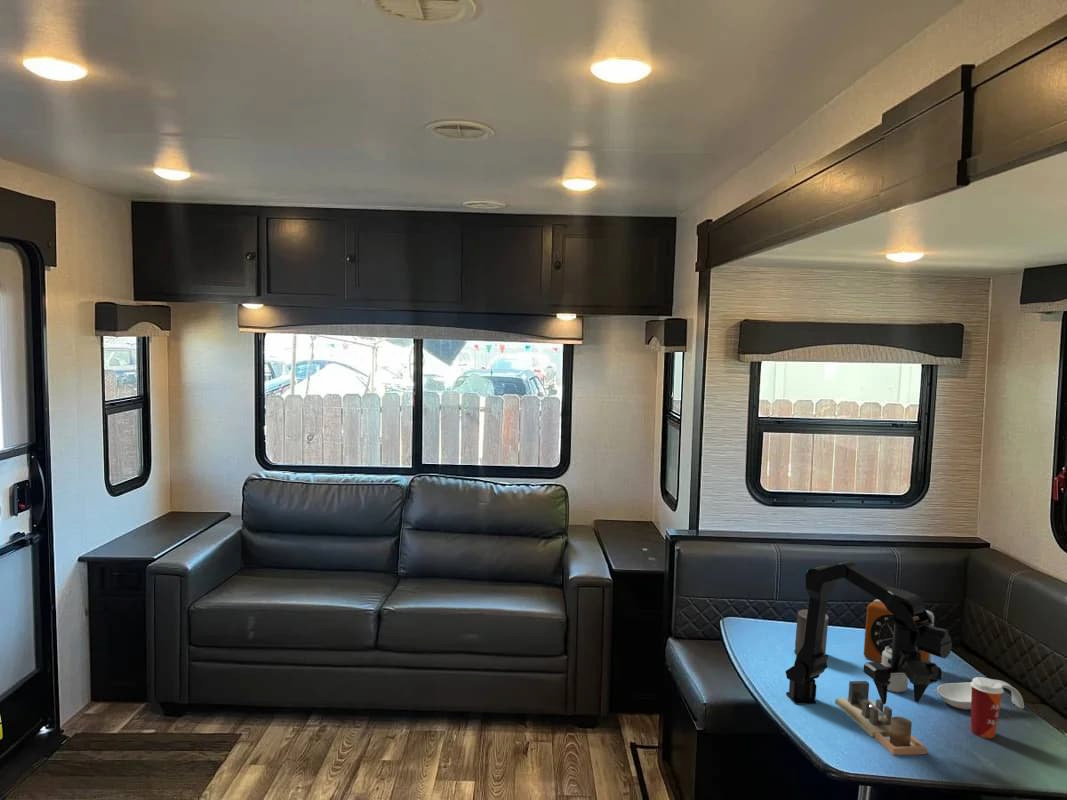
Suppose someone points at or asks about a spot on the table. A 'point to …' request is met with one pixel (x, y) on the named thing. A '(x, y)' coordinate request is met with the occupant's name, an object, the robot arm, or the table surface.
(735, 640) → the table surface
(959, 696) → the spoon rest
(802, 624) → the pillar candle
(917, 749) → the picture frame
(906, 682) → the can
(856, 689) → the shaft
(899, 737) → the brown dome-ended cylinder
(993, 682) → the paper cup
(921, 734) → the table surface
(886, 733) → the beige piece
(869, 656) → the alarm clock
